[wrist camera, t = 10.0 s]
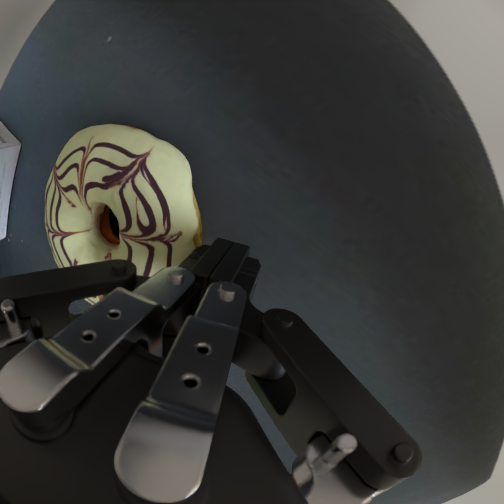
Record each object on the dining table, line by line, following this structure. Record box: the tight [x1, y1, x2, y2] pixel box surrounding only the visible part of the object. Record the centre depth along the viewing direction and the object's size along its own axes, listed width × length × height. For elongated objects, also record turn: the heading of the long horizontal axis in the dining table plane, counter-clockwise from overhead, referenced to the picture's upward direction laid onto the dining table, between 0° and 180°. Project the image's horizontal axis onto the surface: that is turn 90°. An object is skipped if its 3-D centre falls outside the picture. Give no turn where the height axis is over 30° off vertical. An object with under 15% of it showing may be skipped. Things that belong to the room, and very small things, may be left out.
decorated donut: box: [45, 124, 202, 305], centre depth 13 cm, size 10×11×4 cm
